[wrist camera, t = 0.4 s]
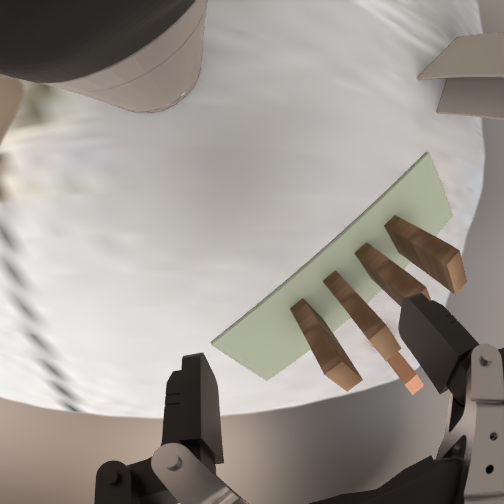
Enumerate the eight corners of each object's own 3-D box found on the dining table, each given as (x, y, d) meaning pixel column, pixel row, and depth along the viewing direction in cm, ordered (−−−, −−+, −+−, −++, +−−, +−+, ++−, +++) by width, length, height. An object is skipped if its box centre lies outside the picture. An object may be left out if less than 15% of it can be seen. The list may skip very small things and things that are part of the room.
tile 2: (311, 329, 35) (347, 391, 25) (289, 308, 33) (324, 374, 23) (323, 319, 35) (362, 379, 25) (302, 297, 33) (342, 361, 23)
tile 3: (341, 304, 34) (386, 361, 25) (322, 281, 32) (368, 340, 23) (353, 294, 34) (401, 348, 24) (335, 269, 32) (386, 325, 22)
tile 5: (398, 252, 33) (455, 294, 23) (383, 225, 31) (446, 264, 21) (408, 242, 33) (466, 281, 23) (394, 214, 31) (459, 250, 21)
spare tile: (377, 348, 41) (412, 394, 31) (366, 334, 39) (404, 384, 29) (387, 340, 40) (423, 385, 31) (376, 325, 38) (416, 374, 29)
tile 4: (371, 278, 34) (422, 328, 24) (354, 253, 32) (410, 302, 22) (382, 268, 34) (436, 314, 24) (366, 241, 32) (426, 287, 22)
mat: (266, 378, 38) (267, 380, 38) (211, 341, 34) (211, 344, 33) (450, 215, 33) (453, 216, 33) (426, 152, 29) (428, 152, 28)
